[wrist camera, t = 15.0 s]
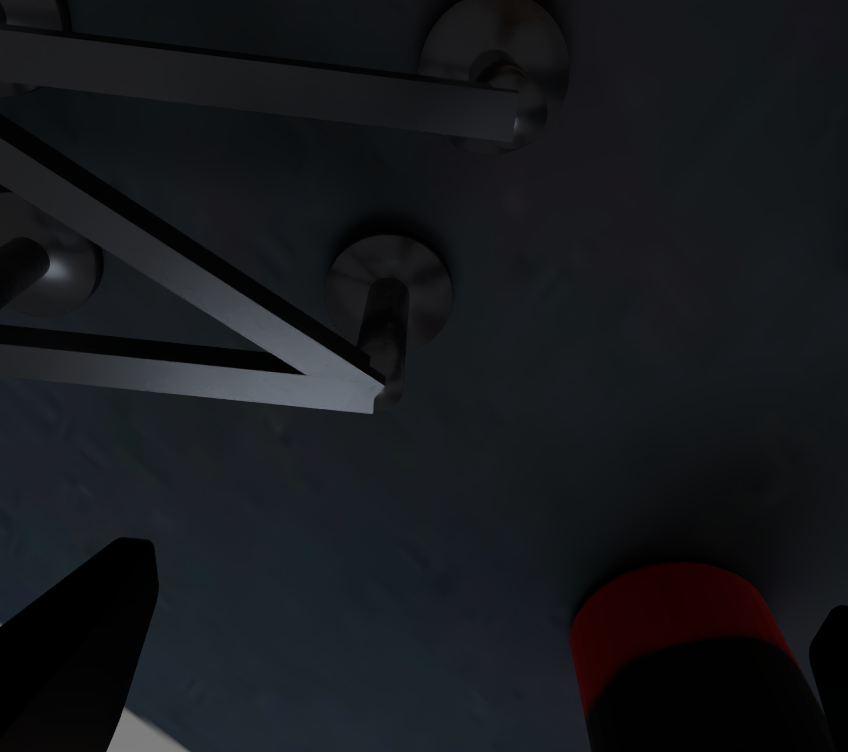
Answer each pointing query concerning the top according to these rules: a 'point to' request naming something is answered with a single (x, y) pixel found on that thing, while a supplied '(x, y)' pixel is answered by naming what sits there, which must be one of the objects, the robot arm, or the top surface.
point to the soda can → (690, 667)
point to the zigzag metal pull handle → (206, 272)
